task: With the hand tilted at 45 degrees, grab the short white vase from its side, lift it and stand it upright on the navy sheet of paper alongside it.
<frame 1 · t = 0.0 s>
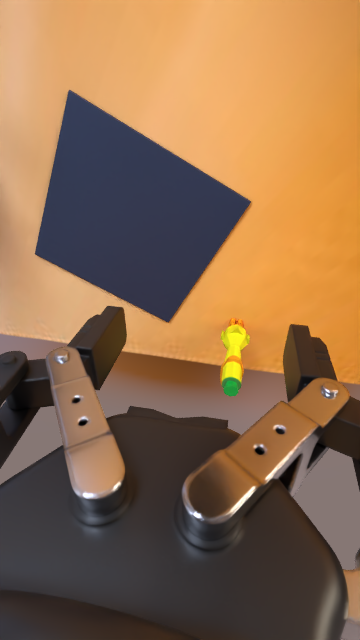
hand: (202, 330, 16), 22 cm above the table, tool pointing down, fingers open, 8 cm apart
paper sheet: (129, 230, 38), on the table
toy figure: (235, 324, 44), on the table
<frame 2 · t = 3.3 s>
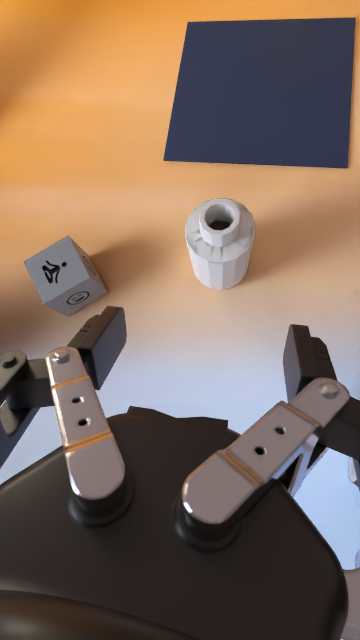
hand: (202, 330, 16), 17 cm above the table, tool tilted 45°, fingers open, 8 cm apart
paper sheet: (260, 89, 38), on the table
dice cube: (79, 286, 35), on the table
white vase: (220, 263, 34), on the table
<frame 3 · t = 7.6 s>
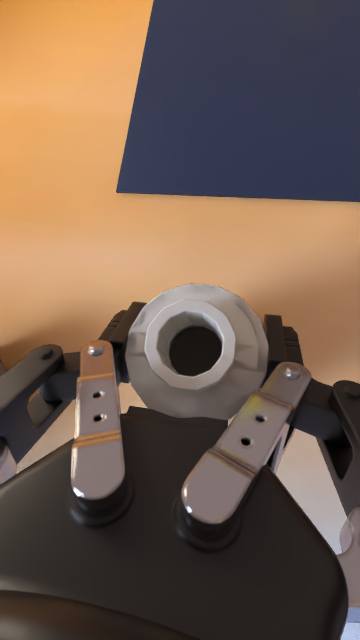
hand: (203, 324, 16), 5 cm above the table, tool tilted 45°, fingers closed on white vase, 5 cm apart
paper sheet: (264, 81, 24), on the table
white vase: (205, 367, 20), on the table, touching gripper
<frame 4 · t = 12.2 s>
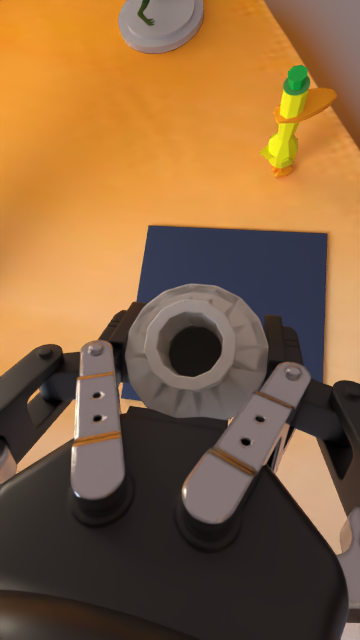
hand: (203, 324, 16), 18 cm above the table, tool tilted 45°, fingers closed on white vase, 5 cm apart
paper sheet: (225, 315, 34), on the table
toy figure: (283, 170, 38), on the table
monster figurine: (161, 21, 46), on the table
white vase: (205, 367, 20), point 13 cm above the table, touching gripper
when the fingers open (5 cm above the table, at t = 17.2 s): white vase stays where it is, resting on paper sheet.
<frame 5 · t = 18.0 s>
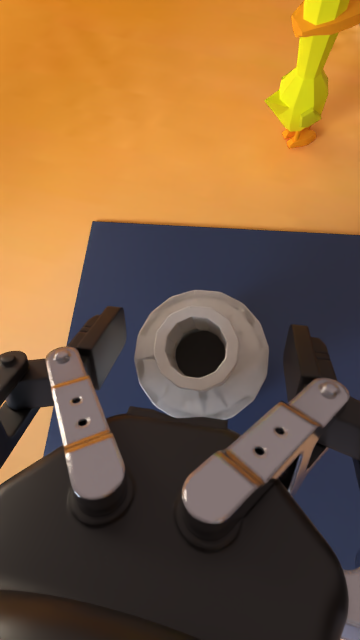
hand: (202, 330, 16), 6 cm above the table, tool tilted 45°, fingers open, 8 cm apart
paper sheet: (207, 367, 21), on the table
toy figure: (300, 138, 24), on the table
white vase: (208, 368, 21), resting on paper sheet
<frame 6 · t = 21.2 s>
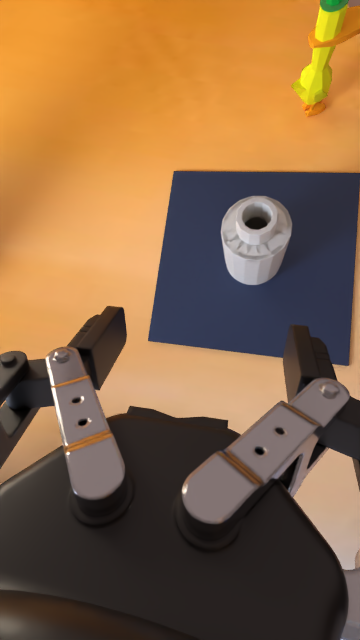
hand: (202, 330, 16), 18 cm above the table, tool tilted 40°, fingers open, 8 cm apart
paper sheet: (252, 259, 34), on the table
toy figure: (314, 109, 36), on the table
white vase: (253, 259, 34), resting on paper sheet
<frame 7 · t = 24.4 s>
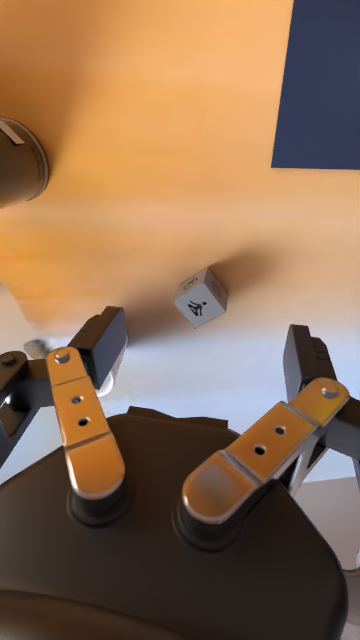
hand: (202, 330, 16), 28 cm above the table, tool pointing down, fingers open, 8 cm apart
dixie cup: (112, 335, 54), on the table
dice cube: (203, 288, 46), on the table
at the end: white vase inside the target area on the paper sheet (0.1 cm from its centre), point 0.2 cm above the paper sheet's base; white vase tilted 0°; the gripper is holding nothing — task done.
